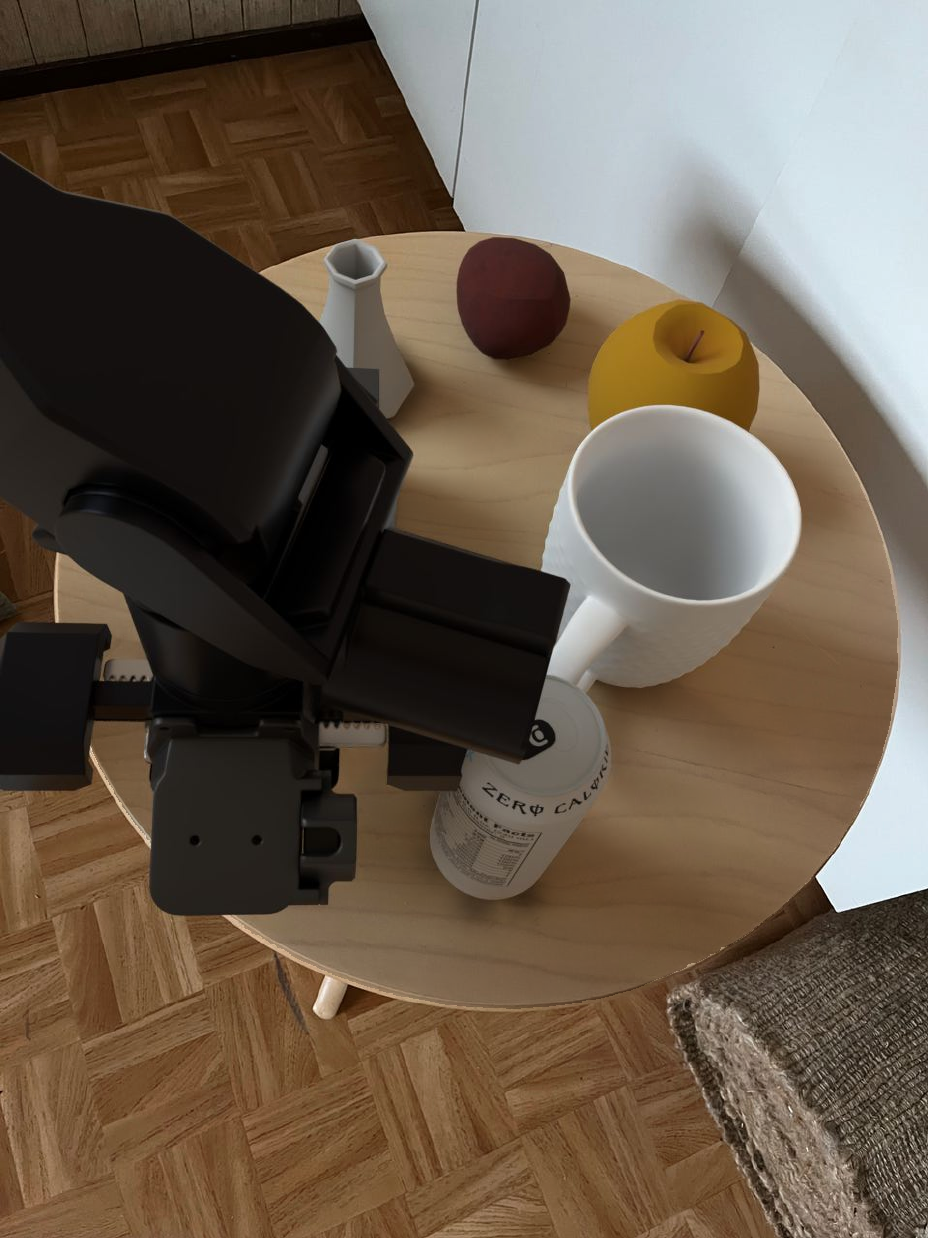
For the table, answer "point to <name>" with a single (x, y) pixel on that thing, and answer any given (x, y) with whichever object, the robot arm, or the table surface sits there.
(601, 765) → the energy drink can
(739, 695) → the table surface
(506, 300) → the potato
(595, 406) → the apple
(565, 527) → the mug
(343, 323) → the flask
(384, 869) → the table surface
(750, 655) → the table surface
